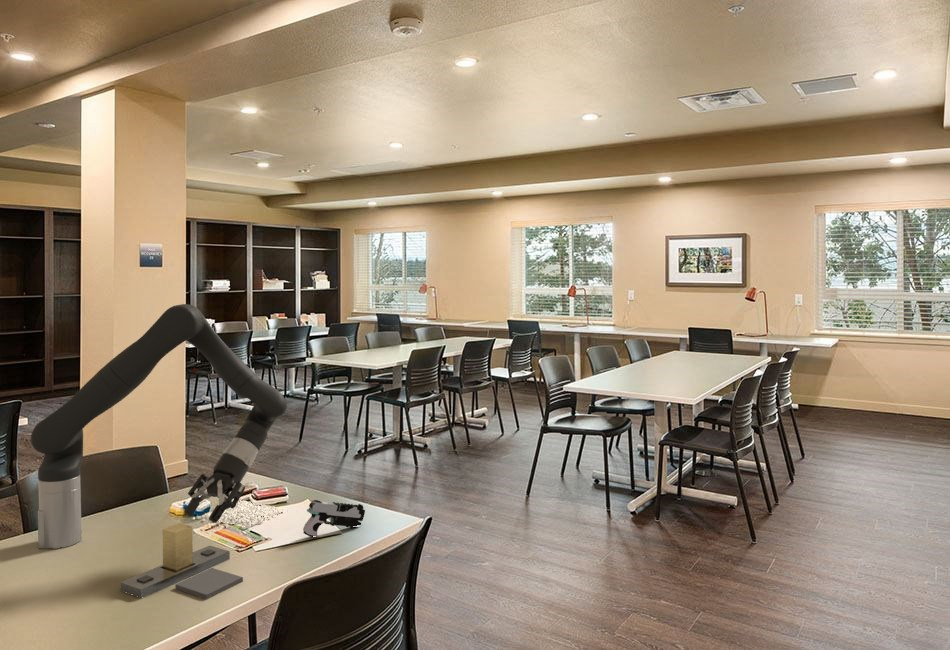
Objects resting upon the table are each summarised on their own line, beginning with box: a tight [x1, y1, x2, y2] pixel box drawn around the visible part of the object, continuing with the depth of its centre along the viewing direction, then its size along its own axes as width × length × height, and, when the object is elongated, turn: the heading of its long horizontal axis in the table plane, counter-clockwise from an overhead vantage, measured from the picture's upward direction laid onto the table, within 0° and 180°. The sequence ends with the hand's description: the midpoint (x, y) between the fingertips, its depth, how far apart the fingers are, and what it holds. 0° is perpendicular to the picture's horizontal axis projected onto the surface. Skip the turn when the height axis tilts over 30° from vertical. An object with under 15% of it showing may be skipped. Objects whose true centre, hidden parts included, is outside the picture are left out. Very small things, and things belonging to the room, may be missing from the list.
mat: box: [174, 567, 244, 600], centre depth 152 cm, size 10×10×1 cm
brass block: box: [162, 523, 194, 573], centre depth 157 cm, size 4×4×11 cm
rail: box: [119, 545, 231, 599], centre depth 158 cm, size 24×7×2 cm, turn 152°
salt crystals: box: [191, 500, 283, 530], centre depth 197 cm, size 20×20×2 cm
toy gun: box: [302, 499, 366, 538], centre depth 185 cm, size 2×17×10 cm, turn 128°
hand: (199, 518), depth 163 cm, fingers open, 8 cm apart
